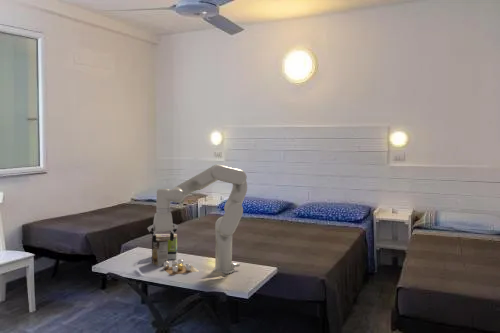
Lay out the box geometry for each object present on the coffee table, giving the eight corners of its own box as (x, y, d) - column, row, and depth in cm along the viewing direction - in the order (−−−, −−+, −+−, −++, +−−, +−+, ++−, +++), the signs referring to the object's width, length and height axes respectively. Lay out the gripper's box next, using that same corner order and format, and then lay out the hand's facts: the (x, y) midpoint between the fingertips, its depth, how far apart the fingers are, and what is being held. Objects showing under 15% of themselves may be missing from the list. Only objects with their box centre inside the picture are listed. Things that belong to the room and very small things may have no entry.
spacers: (183, 265, 252) (183, 258, 252) (191, 272, 240) (191, 264, 240) (162, 268, 246) (162, 261, 246) (170, 274, 234) (170, 267, 234)
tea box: (177, 255, 279) (177, 233, 278) (175, 259, 268) (176, 236, 268) (154, 255, 277) (154, 233, 277) (151, 260, 267) (151, 236, 267)
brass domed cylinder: (181, 268, 247) (181, 263, 246) (184, 270, 243) (184, 265, 242) (174, 269, 244) (174, 264, 244) (176, 271, 241) (176, 266, 240)
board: (190, 266, 255) (190, 264, 255) (199, 273, 241) (199, 271, 241) (162, 269, 247) (162, 267, 247) (170, 277, 233) (170, 275, 233)
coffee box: (151, 264, 257) (151, 238, 256) (161, 263, 261) (161, 237, 260) (158, 268, 250) (158, 241, 249) (168, 266, 254) (168, 239, 253)
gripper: (176, 209, 244) (175, 238, 245) (146, 210, 236) (145, 241, 237) (180, 211, 238) (180, 241, 239) (149, 212, 229) (149, 244, 230)
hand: (163, 241), depth 238 cm, fingers open, 9 cm apart
